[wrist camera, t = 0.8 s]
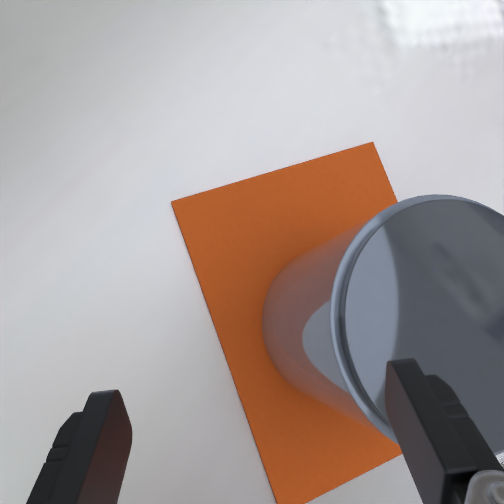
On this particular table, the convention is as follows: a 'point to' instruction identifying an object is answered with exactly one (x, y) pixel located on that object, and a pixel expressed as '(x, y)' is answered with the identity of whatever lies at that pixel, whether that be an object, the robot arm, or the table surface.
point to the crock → (396, 311)
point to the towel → (252, 300)
